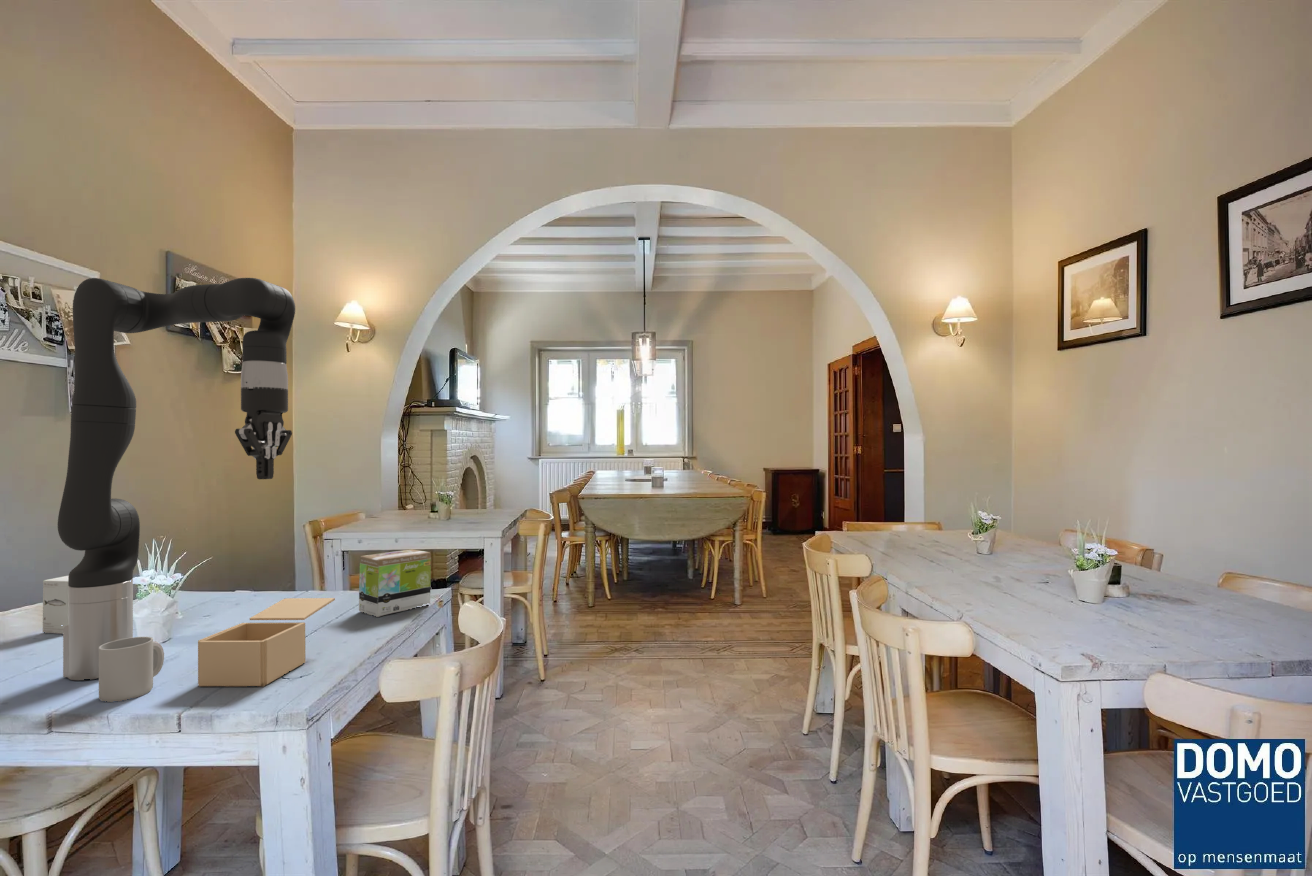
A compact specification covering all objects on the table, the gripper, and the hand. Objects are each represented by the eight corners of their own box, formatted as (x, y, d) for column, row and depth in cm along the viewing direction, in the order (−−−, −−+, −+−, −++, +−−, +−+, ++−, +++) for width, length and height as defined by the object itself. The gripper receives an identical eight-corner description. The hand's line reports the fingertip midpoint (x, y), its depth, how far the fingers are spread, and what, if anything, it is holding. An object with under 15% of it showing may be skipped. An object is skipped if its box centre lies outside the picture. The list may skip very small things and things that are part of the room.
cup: (87, 701, 104) (87, 648, 104) (146, 679, 113) (146, 631, 114) (121, 704, 102) (121, 650, 102) (178, 681, 112) (178, 632, 112)
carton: (194, 687, 109) (194, 641, 109) (244, 662, 121) (243, 622, 122) (264, 687, 109) (264, 641, 109) (306, 662, 121) (306, 621, 121)
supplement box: (41, 633, 144) (41, 580, 144) (75, 624, 151) (75, 573, 151) (66, 635, 142) (67, 580, 143) (100, 625, 150) (100, 574, 150)
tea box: (378, 618, 153) (377, 559, 153) (358, 612, 159) (357, 555, 159) (431, 605, 165) (431, 550, 165) (411, 600, 171) (411, 547, 171)
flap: (249, 618, 122) (284, 598, 133) (249, 620, 122) (284, 600, 133) (304, 617, 122) (334, 598, 133) (304, 619, 122) (335, 599, 133)
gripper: (269, 390, 122) (269, 477, 121) (219, 383, 108) (219, 481, 108) (305, 390, 121) (306, 477, 121) (259, 383, 108) (260, 480, 108)
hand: (265, 479), depth 115 cm, fingers closed
